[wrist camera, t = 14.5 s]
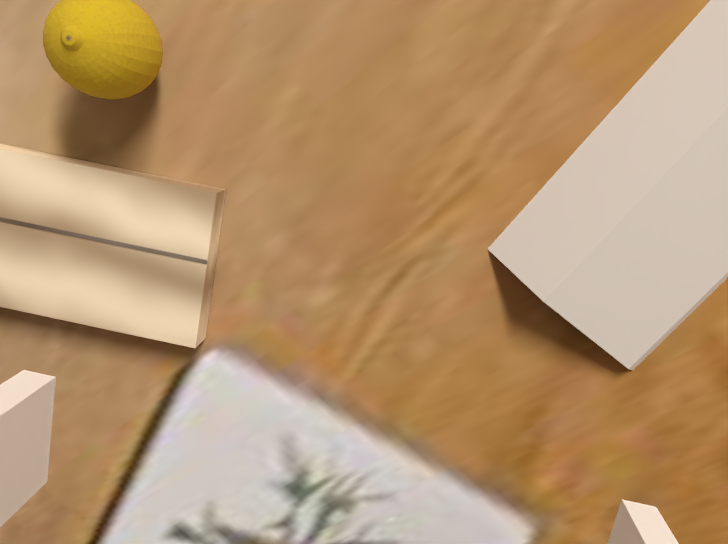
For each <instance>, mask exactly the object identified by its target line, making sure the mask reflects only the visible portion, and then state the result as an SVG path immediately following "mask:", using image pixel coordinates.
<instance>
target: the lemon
mask: <svg viewBox="0 0 728 544" xmlns="http://www.w3.org/2000/svg"><path fill="white" fill-rule="evenodd" d="M43 44H44V48H45V52H46V56H47V58H48V60H49V62H50V64H51V66H52V67H53V69H54V70H55V71H56V72H57V73H58V75H59V76H60V77H61V78H62V79H63V80H64V81H66V82H67V83H68V84H70V85H71V86H72V87H74V88H75V89H77V90H79V91H81V92H83V93H86V94H88V95H91V96H93V97H98V98H104V99H121V98H128V97H130V96H133V95H135V94H137V93H140V92H141V91H143V90H144V89H145V88H146V87H148V86H149V85H150V84H151V83H152V82H153V80H154V79H155V77H156V76H157V74H158V72H159V69H160V67H161V63H162V55H163V50H162V41H161V38H160V35H159V32H158V29H157V28H156V26H155V25H154V23H153V21H152V20H151V18H150V17H149V16H148V15H147V14H146V13H145V12H144V11H143V10H142V9H141V8H140V7H139V6H138V5H137V4H135V3H134V2H132V1H130V0H61V1H59V2H58V3H57V4H56V5H55V6H54V7H53V9H52V10H51V11H50V13H49V15H48V17H47V19H46V21H45V26H44V31H43Z"/></svg>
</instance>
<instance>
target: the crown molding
mask: <svg viewBox="0 0 728 544" xmlns="http://www.w3.org/2000/svg"><path fill="white" fill-rule="evenodd" d="M488 250H489V251H490V252H491V253H492V254H493V255H494V256H495V257H496V258H497V259H499V260H500V261H501V262H502V263H503V264H504V265H505V266H506V267H507V268H508V269H509V270H510V271H511V272H512V273H513V274H514V275H516V276H517V277H518V278H519V279H520V280H521V281H522V282H523V283H524V284H525V285H526V286H527V287H528V288H529V289H530V290H531V291H533V292H534V293H535V294H536V295H537V296H538V297H539V298H540V299H541V300H542V301H543V302H544V303H546V304H547V305H548V306H549V307H551V308H552V309H553V310H554V311H556V312H557V313H558V314H560V315H561V316H562V317H563V318H565V319H566V320H567V321H568V322H570V323H571V324H572V325H573V326H575V327H576V328H577V329H578V330H580V331H581V332H582V333H584V334H585V335H586V336H587V337H589V338H590V339H591V340H592V341H594V342H595V343H596V344H597V345H599V346H600V347H601V348H602V349H604V350H605V351H606V352H608V353H609V354H610V355H611V356H613V357H614V358H615V359H616V360H618V361H619V362H620V363H621V364H623V365H624V366H625V367H627V368H628V369H629V370H633V369H634V368H635V367H636V366H637V365H639V364H640V363H641V362H642V361H643V360H644V359H645V358H646V357H647V356H648V355H649V354H650V353H651V352H652V351H653V350H654V349H655V348H656V347H657V346H658V345H659V344H660V343H661V342H662V341H663V340H664V339H665V338H666V337H667V336H668V335H669V334H670V333H671V332H672V331H673V330H674V329H675V328H677V327H678V326H679V325H680V324H681V323H682V322H683V321H684V320H685V319H686V318H687V317H688V316H689V315H690V314H691V313H692V312H693V311H694V310H695V309H696V308H697V307H698V306H699V305H700V304H701V303H702V302H703V301H704V300H705V299H706V298H707V297H708V296H709V295H710V294H711V293H712V292H714V291H715V290H716V289H717V288H718V287H719V286H720V285H721V284H722V283H723V282H724V281H725V280H726V279H727V278H728V0H711V1H710V2H709V3H708V4H707V5H706V6H705V7H704V8H703V9H702V11H701V12H700V13H699V14H698V15H697V16H696V17H695V18H694V19H693V21H692V22H691V23H690V24H689V25H688V26H687V27H686V28H685V29H684V31H683V32H682V33H681V34H680V35H679V36H678V37H677V38H676V40H675V41H674V42H673V43H672V44H671V45H670V46H669V47H668V48H667V50H666V51H665V52H664V53H663V54H662V55H661V56H660V57H659V58H658V60H657V61H656V62H655V63H654V64H653V65H652V66H651V67H650V68H649V70H648V71H647V72H646V73H645V74H644V75H643V76H642V77H641V79H640V80H639V81H638V82H637V83H636V84H635V85H634V86H633V87H632V89H631V90H630V91H629V92H628V93H627V94H626V95H625V96H624V97H623V99H622V100H621V101H620V102H619V103H618V104H617V105H616V106H615V107H614V109H613V110H612V111H611V112H610V113H609V114H608V115H607V116H606V118H605V119H604V120H603V121H602V122H601V123H600V124H599V125H598V126H597V128H596V129H595V130H594V131H593V132H592V133H591V134H590V135H589V136H588V138H587V139H586V140H585V141H584V142H583V143H582V144H581V145H580V146H579V148H578V149H577V150H576V151H575V152H574V153H573V154H572V155H571V157H570V158H569V159H568V160H567V161H566V162H565V163H564V164H563V165H562V167H561V168H560V169H559V170H558V171H557V172H556V173H555V174H554V175H553V177H552V178H551V179H550V180H549V181H548V182H547V183H546V184H545V185H544V187H543V188H542V189H541V190H540V191H539V192H538V193H537V194H536V196H535V197H534V198H533V199H532V200H531V201H530V202H529V203H528V204H527V206H526V207H525V208H524V209H523V210H522V211H521V212H520V213H519V214H518V216H517V217H516V218H515V219H514V220H513V221H512V222H511V223H510V224H509V226H508V227H507V228H506V229H505V230H504V231H503V232H502V233H501V235H500V236H499V237H498V238H497V239H496V240H495V241H494V242H493V243H492V245H491V246H490V247H489V248H488Z"/></svg>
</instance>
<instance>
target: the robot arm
mask: <svg viewBox="0 0 728 544" xmlns="http://www.w3.org/2000/svg"><path fill="white" fill-rule="evenodd" d="M55 379H56V377H54V376H49V375H45V374H40V373H35V372H31V371H26V370H23V371H21V372H20V373H18V374H17V375H15V376H13V377H12V378H10V379H9V380H7V381H6V382H4V383H2V384H1V385H0V527H1V526H2V525H3V524H4V523H5V522H6V521H7V520H8V519H9V518H10V517H11V516H12V515H13V514H14V513H15V512H17V511H18V510H19V509H20V508H21V507H22V506H23V505H24V504H25V503H26V502H27V501H28V500H29V499H30V498H31V497H32V496H33V495H34V494H35V493H36V492H37V491H38V490H39V489H40V488H41V487H42V486H43V485H44V484H45V483H46V482H47V477H48V465H49V453H50V440H51V428H52V416H53V404H54V392H55ZM608 544H678V542H677V540H676V539H675V537H674V535H673V534H672V532H671V531H670V529H669V527H668V526H667V524H666V522H665V521H664V519H663V517H662V516H661V514H660V513H659V511H658V509H657V508H656V507H654V506H649V505H645V504H640V503H636V502H631V501H626V500H622V501H621V504H620V507H619V510H618V513H617V516H616V519H615V522H614V525H613V528H612V531H611V535H610V538H609V541H608Z"/></svg>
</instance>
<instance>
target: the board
mask: <svg viewBox="0 0 728 544" xmlns="http://www.w3.org/2000/svg"><path fill="white" fill-rule="evenodd" d="M225 195H226V189H222V188H217V187H212V186H207V185H202V184H198V183H193V182H188V181H183V180H178V179H173V178H168V177H163V176H158V175H153V174H148V173H144V172H139V171H134V170H129V169H124V168H119V167H114V166H109V165H104V164H99V163H94V162H90V161H85V160H80V159H75V158H70V157H65V156H60V155H55V154H50V153H45V152H40V151H36V150H31V149H26V148H21V147H16V146H11V145H6V144H1V143H0V307H3V308H8V309H13V310H17V311H22V312H27V313H32V314H36V315H41V316H46V317H50V318H55V319H60V320H64V321H69V322H74V323H78V324H83V325H88V326H93V327H97V328H102V329H107V330H111V331H116V332H121V333H125V334H130V335H135V336H139V337H144V338H149V339H153V340H158V341H163V342H168V343H172V344H177V345H182V346H186V347H191V348H196V347H197V346H198V345H199V344H200V343H201V342H202V341H203V340H204V339H205V338H206V331H207V324H208V317H209V310H210V302H211V295H212V288H213V281H214V274H215V267H216V260H217V252H218V245H219V238H220V231H221V224H222V217H223V210H224V202H225Z"/></svg>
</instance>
